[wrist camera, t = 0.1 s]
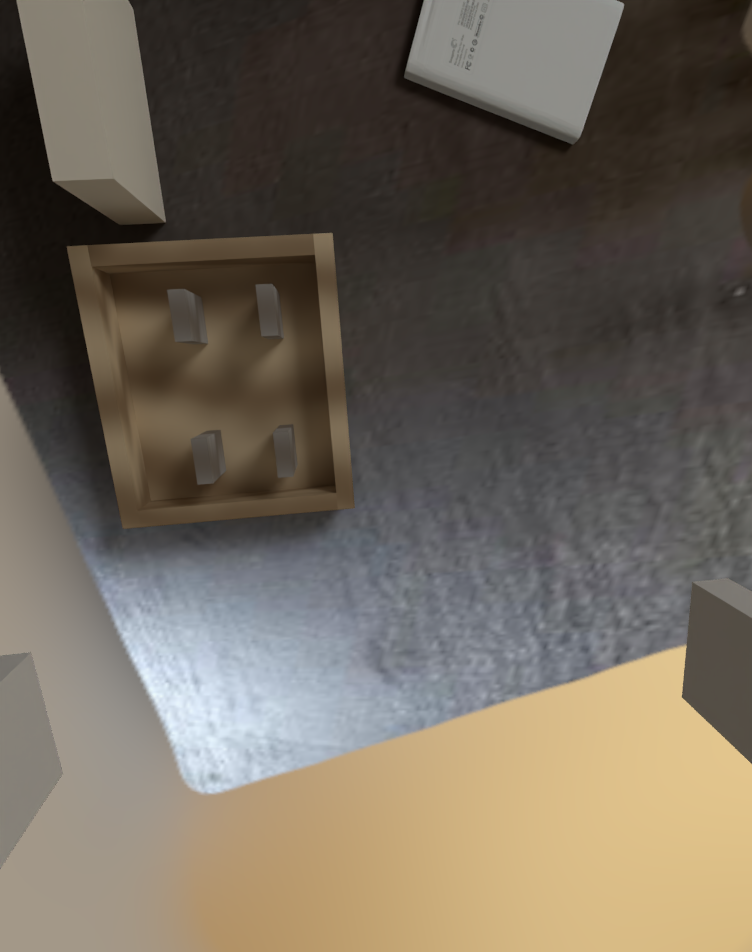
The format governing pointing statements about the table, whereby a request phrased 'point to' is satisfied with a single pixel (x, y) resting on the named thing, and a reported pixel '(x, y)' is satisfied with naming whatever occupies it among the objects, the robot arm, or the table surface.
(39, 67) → the beige rectangular block
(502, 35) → the external hard drive
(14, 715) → the robot arm
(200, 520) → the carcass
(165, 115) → the table surface
